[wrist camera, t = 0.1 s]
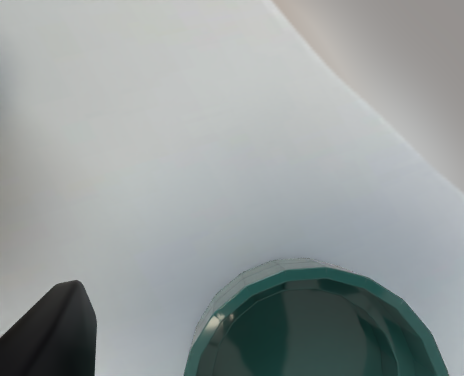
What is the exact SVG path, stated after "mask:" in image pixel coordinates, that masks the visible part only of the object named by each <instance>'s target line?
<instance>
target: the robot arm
mask: <svg viewBox="0 0 464 376" xmlns="http://www.w3.org/2000/svg"><path fill="white" fill-rule="evenodd" d="M96 333H97V320H96V315H95V312H94V309H93V307H92V305H91V302H90V300H89V297H88V295H87V293H86V290H85V288H84V286H83V284H82V283H81V282H80V281H78V280H74V281H69V282H64V283H59V284H56V285H55V286H54V287H53V288H51V289H50V290H49V291H48V292H47V293H46V294H45V295H44V296H43V297H42V298H41V299H40V300H39V301H38V302H37V303H36V304H35V305H34V306H33V307H32V308H31V309H30V310H29V311H28V312H27V313H26V314H25V315H23V316H22V317H21V318H20V319H19V320H18V321H17V322H16V323H15V324H14V325H13V326H12V327H11V328H10V329H9V330H8V331H7V332H6V333H5V334H4V335H3V336H2V337H1V338H0V376H95V355H96Z"/></svg>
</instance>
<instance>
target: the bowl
mask: <svg viewBox="0 0 464 376" xmlns="http://www.w3.org/2000/svg"><path fill="white" fill-rule="evenodd" d="M184 376H449V374H448V371H447V368H446V366H445V364H444V361H443V359H442V357H441V354H440V352H439V349H438V347H437V345H436V342H435V340H434V338H433V335H432V334H431V332H430V330H429V329H428V328H427V327H426V326H425V324H424V323H423V322H422V321H421V320H420V319H419V317H418V316H417V315H416V314H415V313H414V311H413V310H412V309H411V308H410V307H409V306H408V304H407V303H406V302H405V301H404V300H403V299H402V298H400V297H399V296H397V295H395V294H394V293H392V292H391V291H389V290H387V289H386V288H384V287H383V286H381V285H379V284H378V283H376V282H375V281H373V280H372V279H370V278H368V277H366V276H363V275H361V274H358V273H356V272H353V271H350V270H348V269H345V268H342V267H340V266H337V265H333V264H329V263H325V262H321V261H317V260H313V259H309V258H296V259H281V260H273V261H269V262H267V263H265V264H262V265H260V266H257V267H255V268H252V269H250V270H247V271H245V272H243V273H241V274H239V275H238V276H237V277H236V278H235V279H234V280H232V281H231V282H230V283H229V284H228V285H227V286H225V287H224V288H223V289H222V290H221V291H219V292H218V293H217V294H216V296H215V297H214V298H213V300H212V301H211V303H210V304H209V306H208V308H207V309H206V311H205V312H204V314H203V316H202V317H201V319H200V321H199V322H198V324H197V326H196V330H195V333H194V337H193V341H192V345H191V348H190V352H189V356H188V360H187V364H186V368H185V372H184Z"/></svg>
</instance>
